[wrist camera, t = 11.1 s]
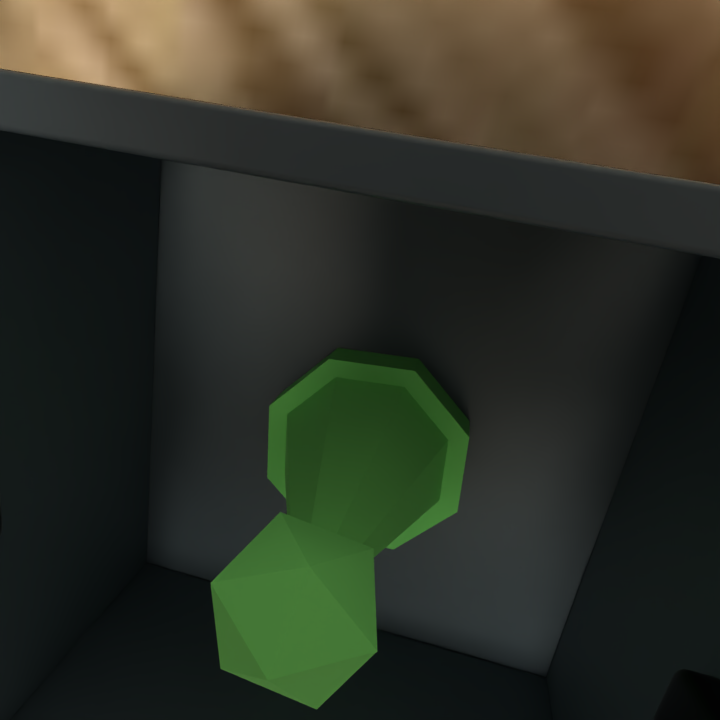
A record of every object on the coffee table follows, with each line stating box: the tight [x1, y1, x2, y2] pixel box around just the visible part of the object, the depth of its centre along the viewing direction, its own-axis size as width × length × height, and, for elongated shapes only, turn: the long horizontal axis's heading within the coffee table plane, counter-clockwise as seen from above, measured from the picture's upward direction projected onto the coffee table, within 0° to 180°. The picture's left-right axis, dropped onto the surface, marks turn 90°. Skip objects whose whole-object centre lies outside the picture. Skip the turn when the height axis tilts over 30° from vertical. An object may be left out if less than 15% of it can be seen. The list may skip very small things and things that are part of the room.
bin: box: [0, 69, 720, 720], centre depth 9 cm, size 11×11×6 cm
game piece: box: [210, 348, 470, 710], centre depth 9 cm, size 4×4×6 cm
